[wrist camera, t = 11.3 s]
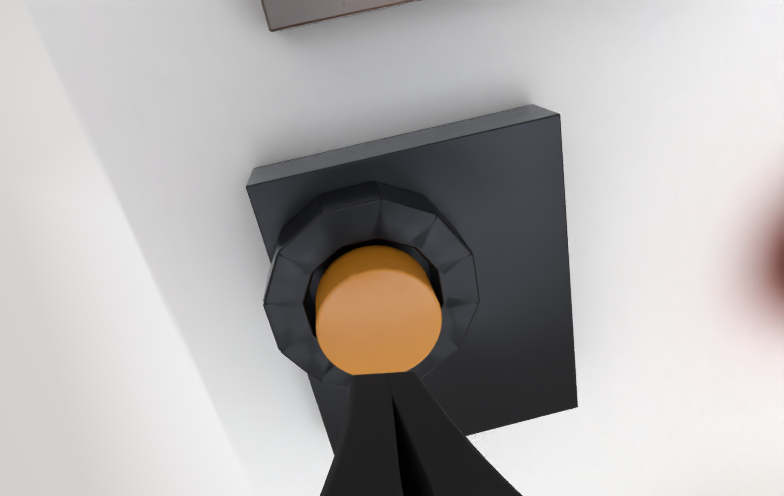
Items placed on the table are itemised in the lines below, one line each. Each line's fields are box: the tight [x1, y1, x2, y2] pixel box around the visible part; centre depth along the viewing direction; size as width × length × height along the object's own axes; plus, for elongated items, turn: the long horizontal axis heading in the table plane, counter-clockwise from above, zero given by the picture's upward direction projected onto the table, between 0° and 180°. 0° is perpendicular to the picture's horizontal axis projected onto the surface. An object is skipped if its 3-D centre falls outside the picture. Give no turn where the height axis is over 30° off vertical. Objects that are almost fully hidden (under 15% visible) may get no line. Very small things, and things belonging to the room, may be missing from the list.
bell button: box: [316, 245, 442, 375], centre depth 15 cm, size 4×4×2 cm
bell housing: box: [246, 105, 578, 456], centre depth 19 cm, size 10×12×4 cm
